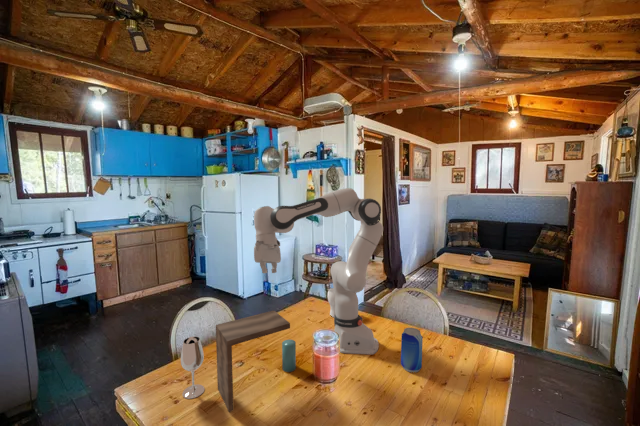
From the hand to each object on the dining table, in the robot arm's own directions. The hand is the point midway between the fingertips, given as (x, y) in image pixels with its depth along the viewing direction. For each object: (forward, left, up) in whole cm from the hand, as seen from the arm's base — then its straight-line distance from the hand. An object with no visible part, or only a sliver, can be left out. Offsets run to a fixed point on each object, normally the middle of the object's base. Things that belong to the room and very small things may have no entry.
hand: (269, 273), depth 130 cm
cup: (-18, -51, -38) cm, 66 cm away
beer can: (-60, -9, -38) cm, 72 cm away
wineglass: (+18, +29, -38) cm, 51 cm away
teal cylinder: (-11, +6, -38) cm, 40 cm away
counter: (-3, +21, -38) cm, 44 cm away
